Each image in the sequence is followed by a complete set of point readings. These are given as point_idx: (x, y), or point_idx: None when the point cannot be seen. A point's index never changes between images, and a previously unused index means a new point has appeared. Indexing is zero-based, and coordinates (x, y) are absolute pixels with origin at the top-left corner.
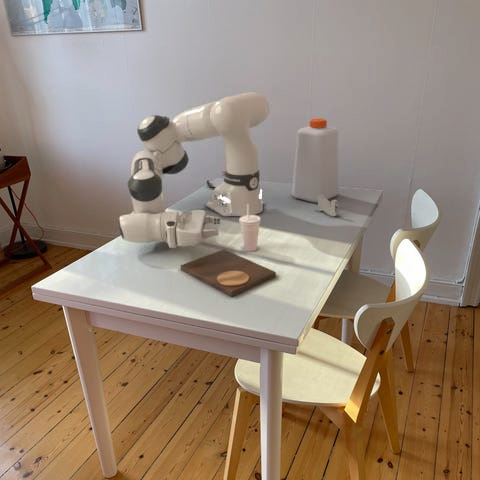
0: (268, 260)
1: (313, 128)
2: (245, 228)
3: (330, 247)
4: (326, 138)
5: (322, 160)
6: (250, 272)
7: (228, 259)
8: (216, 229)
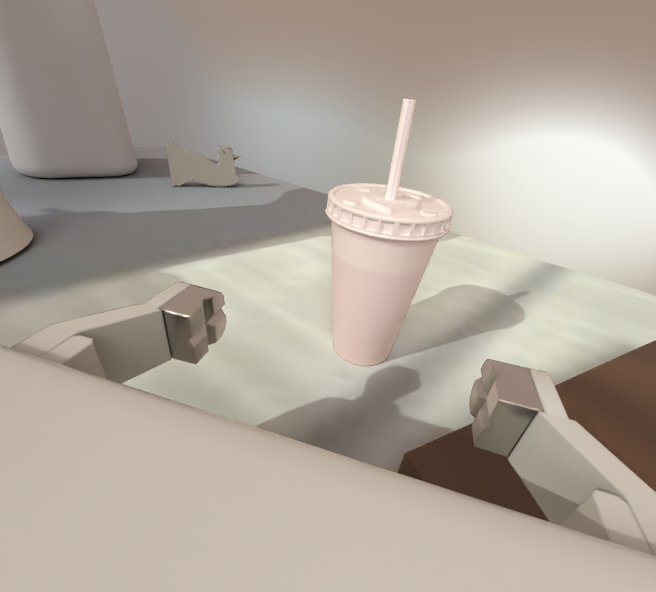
0: (487, 332)
1: None
2: (426, 257)
3: None
4: None
5: (104, 50)
6: None
7: None
8: (532, 373)
